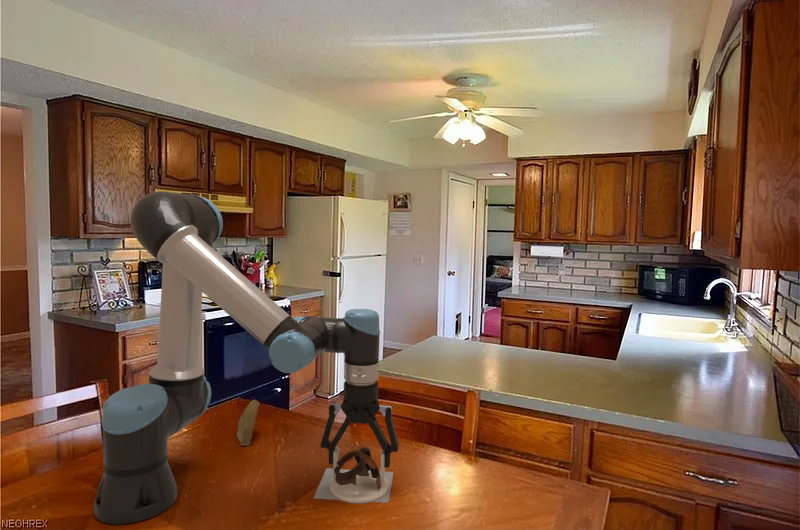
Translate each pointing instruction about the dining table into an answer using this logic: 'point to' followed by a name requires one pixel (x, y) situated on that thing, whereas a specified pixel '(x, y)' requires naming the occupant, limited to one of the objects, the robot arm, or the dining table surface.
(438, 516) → the dining table surface
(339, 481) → the broken terracotta ring
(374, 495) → the cream round plate
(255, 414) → the rock
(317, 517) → the dining table surface
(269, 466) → the dining table surface
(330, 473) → the felt placemat
